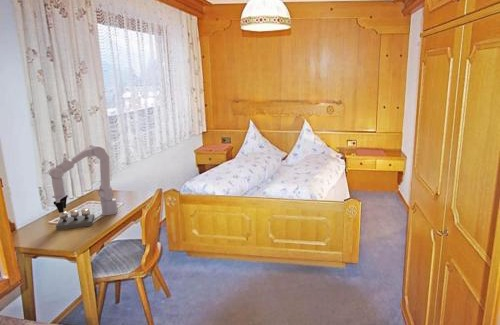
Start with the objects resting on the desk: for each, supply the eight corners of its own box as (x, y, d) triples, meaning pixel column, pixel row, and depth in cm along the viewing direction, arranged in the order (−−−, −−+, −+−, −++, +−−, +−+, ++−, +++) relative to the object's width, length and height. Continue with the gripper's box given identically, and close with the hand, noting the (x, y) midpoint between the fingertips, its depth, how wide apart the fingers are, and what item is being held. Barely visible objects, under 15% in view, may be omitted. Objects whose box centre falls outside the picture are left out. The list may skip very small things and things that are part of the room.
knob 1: (69, 219, 222) (67, 210, 221) (68, 222, 218) (66, 213, 217) (61, 220, 221) (59, 211, 220) (59, 223, 217) (58, 214, 216)
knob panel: (94, 217, 230) (94, 213, 229) (92, 225, 218) (91, 221, 218) (60, 222, 225) (60, 218, 224) (56, 230, 214) (55, 226, 213)
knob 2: (91, 216, 225) (89, 207, 224) (90, 219, 221) (88, 210, 220) (83, 217, 224) (81, 208, 223) (82, 220, 220) (80, 211, 219)
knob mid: (80, 218, 224) (78, 209, 222) (79, 220, 220) (77, 211, 218) (72, 219, 223) (70, 210, 221) (71, 221, 218) (69, 213, 217)
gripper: (53, 185, 220) (57, 206, 224) (48, 192, 207) (52, 215, 210) (66, 183, 222) (70, 205, 225) (61, 191, 208) (65, 214, 212)
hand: (62, 210), depth 218 cm, fingers open, 7 cm apart
